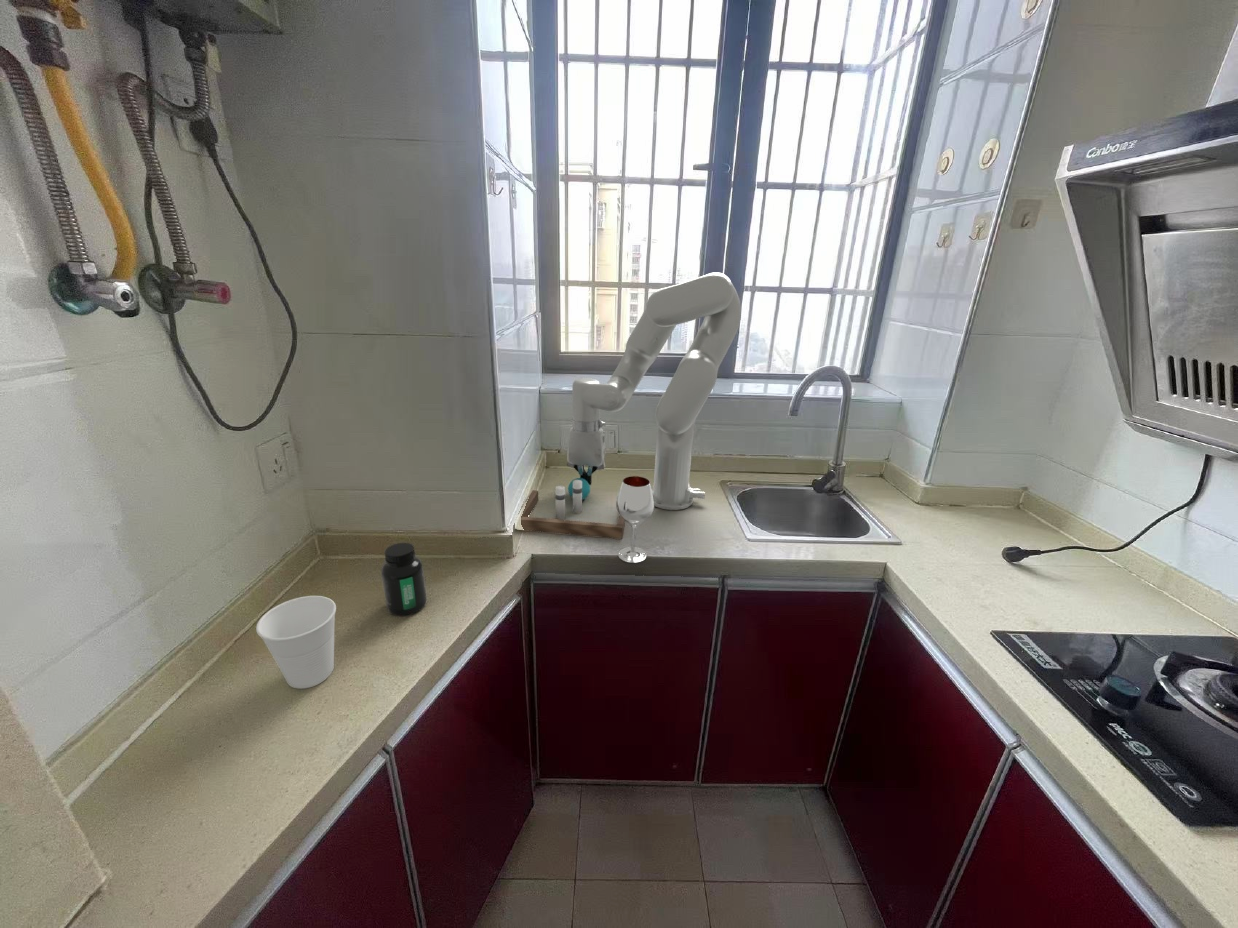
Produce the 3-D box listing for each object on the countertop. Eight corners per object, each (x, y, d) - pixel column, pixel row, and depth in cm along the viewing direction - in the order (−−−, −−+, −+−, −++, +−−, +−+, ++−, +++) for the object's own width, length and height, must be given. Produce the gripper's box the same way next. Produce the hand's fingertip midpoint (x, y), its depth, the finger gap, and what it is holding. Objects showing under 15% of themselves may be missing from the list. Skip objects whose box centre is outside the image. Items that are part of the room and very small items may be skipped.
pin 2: (582, 509, 132) (583, 480, 128) (581, 514, 129) (581, 483, 126) (573, 508, 132) (573, 479, 129) (571, 513, 129) (571, 483, 126)
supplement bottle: (419, 617, 90) (411, 560, 85) (381, 616, 89) (371, 559, 85) (432, 594, 96) (425, 539, 92) (396, 593, 96) (387, 539, 91)
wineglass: (634, 542, 117) (638, 471, 110) (658, 557, 111) (663, 483, 105) (606, 553, 112) (609, 479, 105) (630, 569, 106) (634, 492, 100)
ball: (588, 475, 134) (583, 496, 132) (594, 484, 139) (590, 504, 137) (567, 473, 136) (562, 494, 134) (575, 482, 141) (570, 502, 139)
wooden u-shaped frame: (628, 507, 134) (628, 497, 132) (622, 539, 118) (622, 527, 117) (533, 500, 136) (532, 490, 135) (514, 530, 120) (514, 518, 119)
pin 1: (566, 516, 128) (566, 486, 125) (564, 521, 125) (564, 490, 122) (556, 515, 128) (556, 485, 125) (554, 520, 126) (554, 489, 122)
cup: (295, 652, 81) (280, 595, 77) (358, 650, 81) (347, 594, 77) (258, 701, 72) (239, 640, 67) (330, 699, 72) (315, 639, 68)
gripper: (615, 422, 138) (613, 483, 145) (562, 419, 140) (563, 479, 146) (611, 430, 131) (609, 494, 138) (555, 426, 133) (556, 489, 139)
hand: (585, 486), depth 142 cm, fingers closed
